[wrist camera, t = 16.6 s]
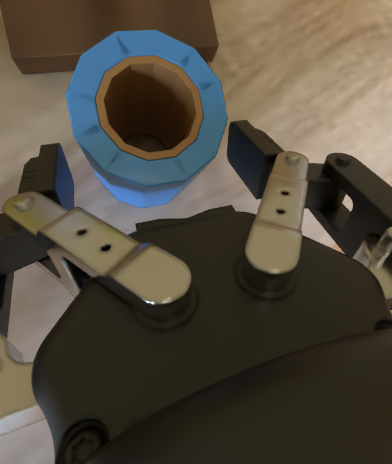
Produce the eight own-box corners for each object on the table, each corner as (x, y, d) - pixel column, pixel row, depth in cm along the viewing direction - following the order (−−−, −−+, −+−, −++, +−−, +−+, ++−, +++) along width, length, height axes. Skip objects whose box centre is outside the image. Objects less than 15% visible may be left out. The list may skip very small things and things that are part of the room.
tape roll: (106, 214, 18) (86, 196, 10) (87, 119, 17) (52, 32, 10) (198, 198, 19) (239, 172, 11) (180, 109, 19) (210, 26, 11)
